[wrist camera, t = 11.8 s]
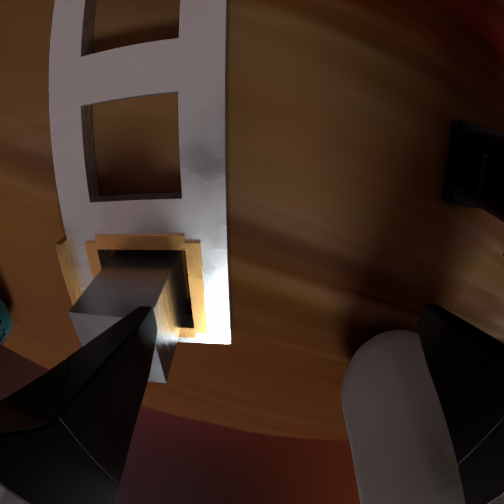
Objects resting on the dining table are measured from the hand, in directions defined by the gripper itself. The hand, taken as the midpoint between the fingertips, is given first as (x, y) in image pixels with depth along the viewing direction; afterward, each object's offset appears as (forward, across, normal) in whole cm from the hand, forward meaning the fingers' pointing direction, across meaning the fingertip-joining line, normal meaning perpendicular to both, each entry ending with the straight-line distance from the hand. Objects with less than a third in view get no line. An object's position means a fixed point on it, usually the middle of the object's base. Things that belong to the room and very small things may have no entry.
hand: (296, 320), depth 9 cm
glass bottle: (+12, -11, +14) cm, 22 cm away
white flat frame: (+12, +9, -4) cm, 16 cm away
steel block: (+12, +9, +6) cm, 16 cm away
